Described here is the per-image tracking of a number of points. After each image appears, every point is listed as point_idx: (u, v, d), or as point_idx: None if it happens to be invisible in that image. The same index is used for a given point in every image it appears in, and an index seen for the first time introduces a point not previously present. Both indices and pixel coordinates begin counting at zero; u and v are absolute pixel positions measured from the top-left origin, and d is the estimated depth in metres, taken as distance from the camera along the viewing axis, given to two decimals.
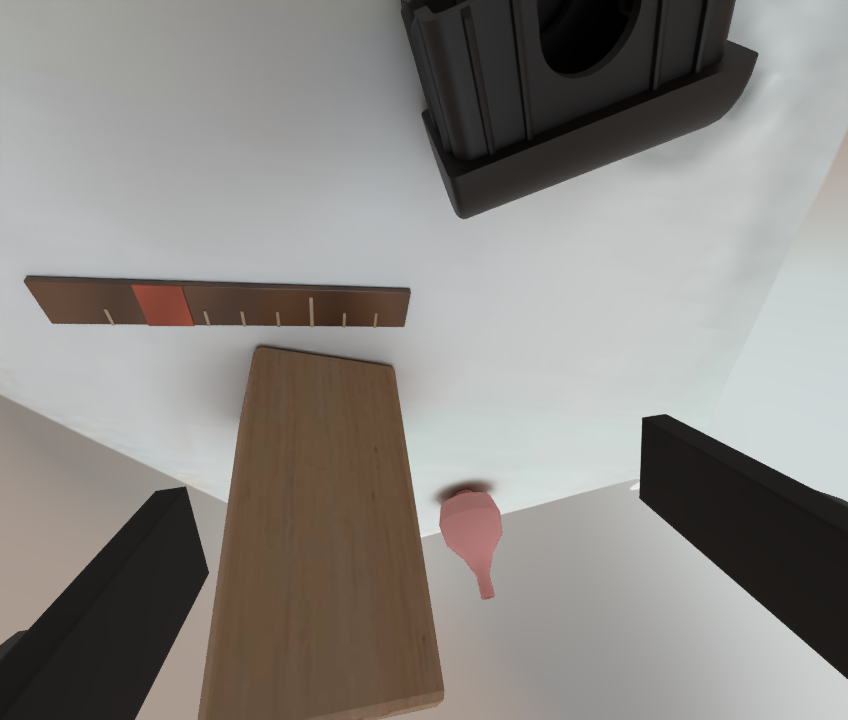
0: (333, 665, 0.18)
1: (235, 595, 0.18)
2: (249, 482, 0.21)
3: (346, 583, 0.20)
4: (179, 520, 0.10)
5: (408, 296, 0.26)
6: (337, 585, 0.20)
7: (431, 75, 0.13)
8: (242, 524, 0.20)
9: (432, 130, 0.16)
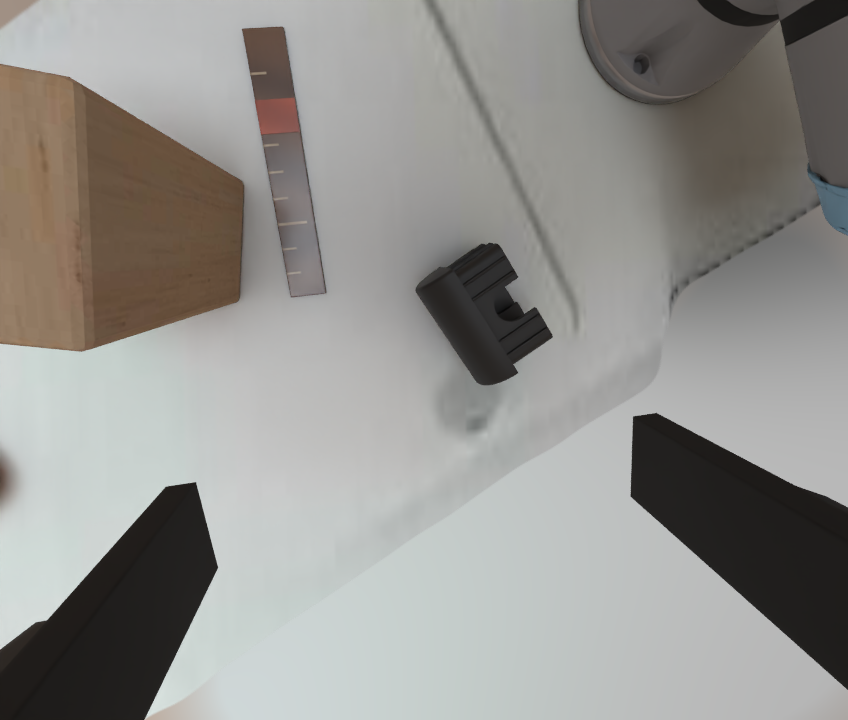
0: (114, 222, 0.17)
1: (150, 133, 0.19)
2: (196, 160, 0.24)
3: (153, 243, 0.20)
4: (189, 515, 0.10)
5: (321, 292, 0.36)
6: (152, 233, 0.20)
7: (477, 254, 0.32)
8: (180, 149, 0.22)
9: None
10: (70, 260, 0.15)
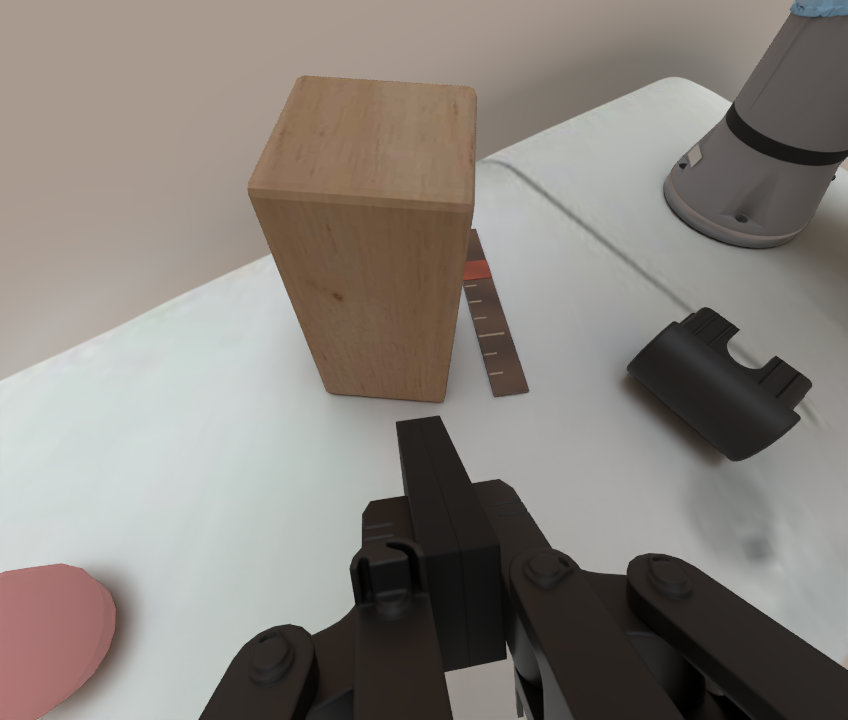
0: None
1: None
2: None
3: None
4: None
5: (525, 389, 0.35)
6: None
7: None
8: None
9: None
10: (467, 151, 0.19)
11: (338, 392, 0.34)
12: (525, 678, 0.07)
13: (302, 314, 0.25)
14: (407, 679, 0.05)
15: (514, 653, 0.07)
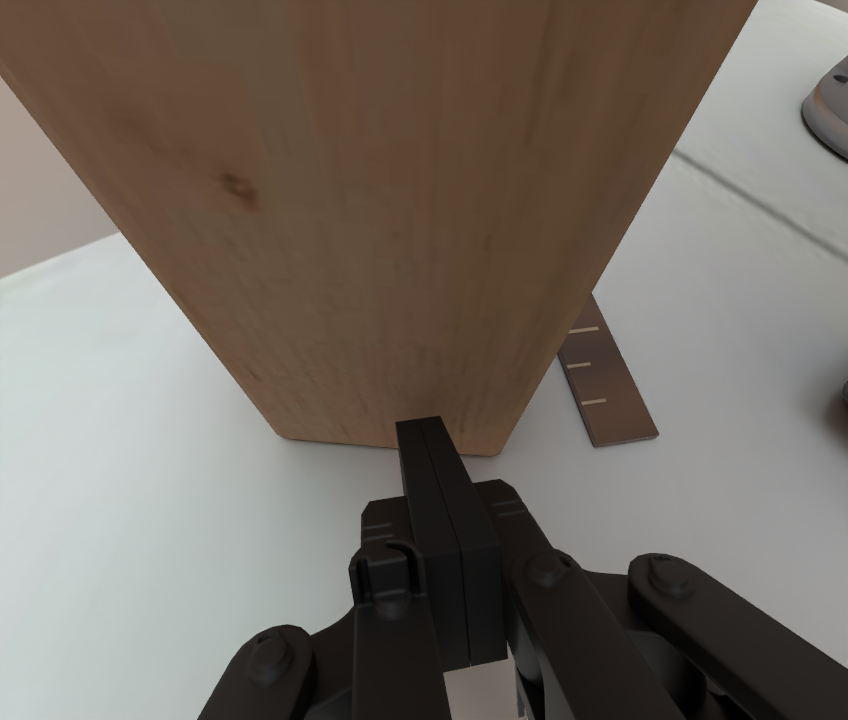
0: None
1: None
2: None
3: None
4: None
5: (652, 433, 0.19)
6: None
7: None
8: None
9: None
10: None
11: (299, 437, 0.18)
12: (527, 677, 0.07)
13: (157, 260, 0.09)
14: (406, 679, 0.05)
15: (515, 653, 0.07)
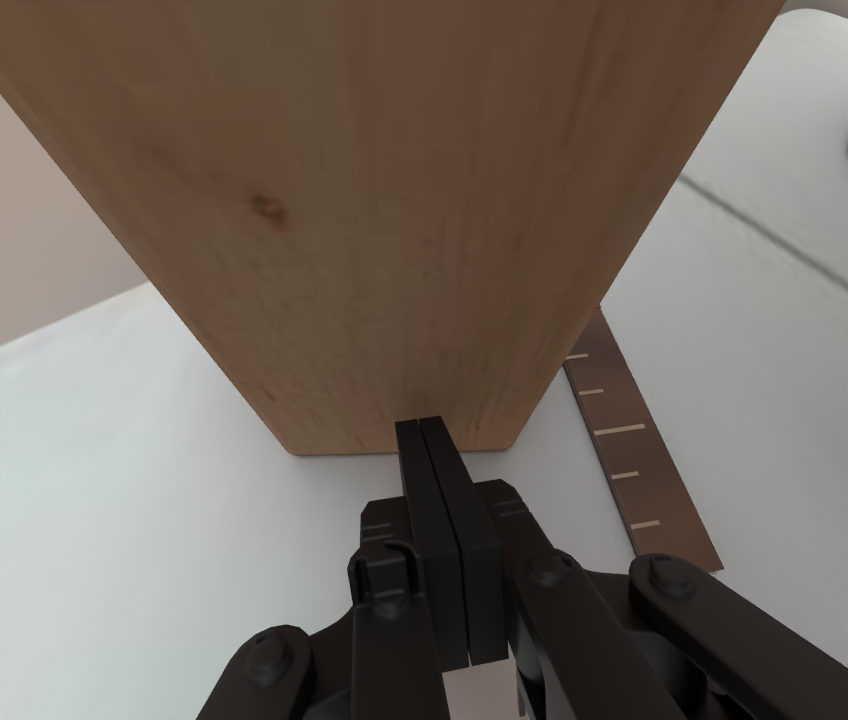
0: None
1: None
2: None
3: None
4: None
5: (715, 567, 0.16)
6: None
7: None
8: None
9: None
10: None
11: (311, 453, 0.17)
12: (527, 677, 0.07)
13: (175, 289, 0.08)
14: (404, 680, 0.05)
15: (516, 652, 0.07)
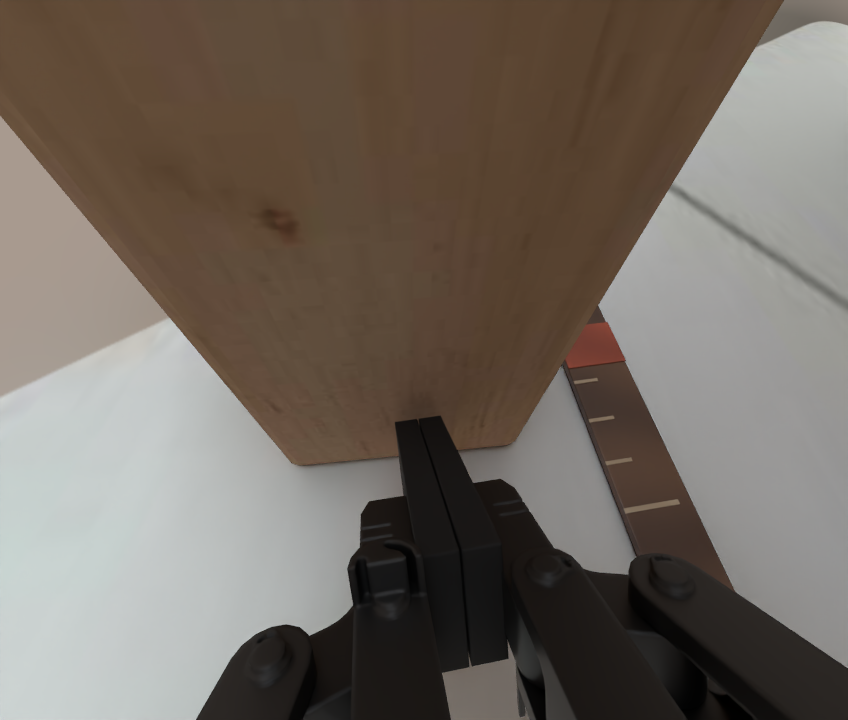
0: None
1: None
2: None
3: None
4: None
5: None
6: None
7: None
8: None
9: None
10: None
11: (315, 462, 0.17)
12: (527, 677, 0.07)
13: (181, 307, 0.08)
14: (405, 679, 0.05)
15: (516, 652, 0.07)
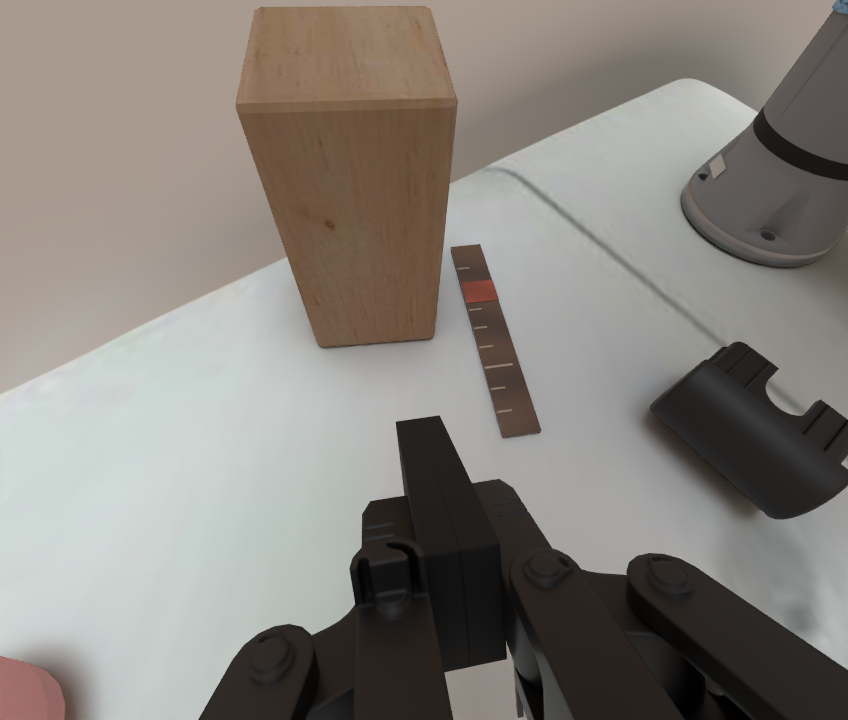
0: None
1: None
2: None
3: None
4: None
5: (537, 430, 0.31)
6: None
7: (716, 357, 0.30)
8: None
9: None
10: (439, 56, 0.20)
11: (331, 344, 0.34)
12: (525, 677, 0.07)
13: (294, 252, 0.25)
14: (407, 679, 0.05)
15: (514, 653, 0.07)
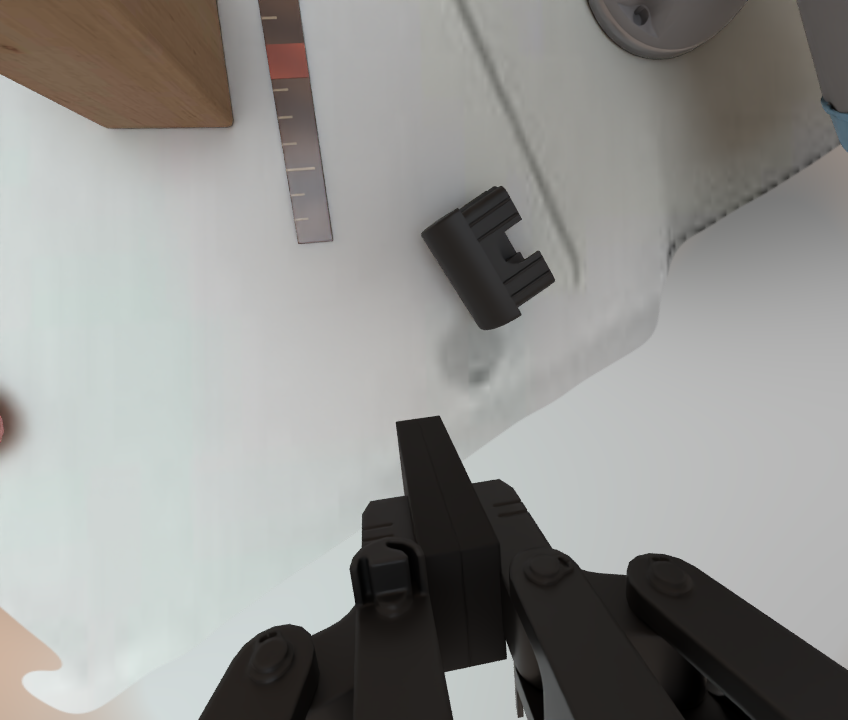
0: None
1: None
2: None
3: None
4: None
5: (328, 239, 0.37)
6: None
7: (482, 197, 0.33)
8: None
9: None
10: None
11: (115, 127, 0.32)
12: (525, 678, 0.07)
13: None
14: (407, 679, 0.05)
15: (514, 653, 0.07)
